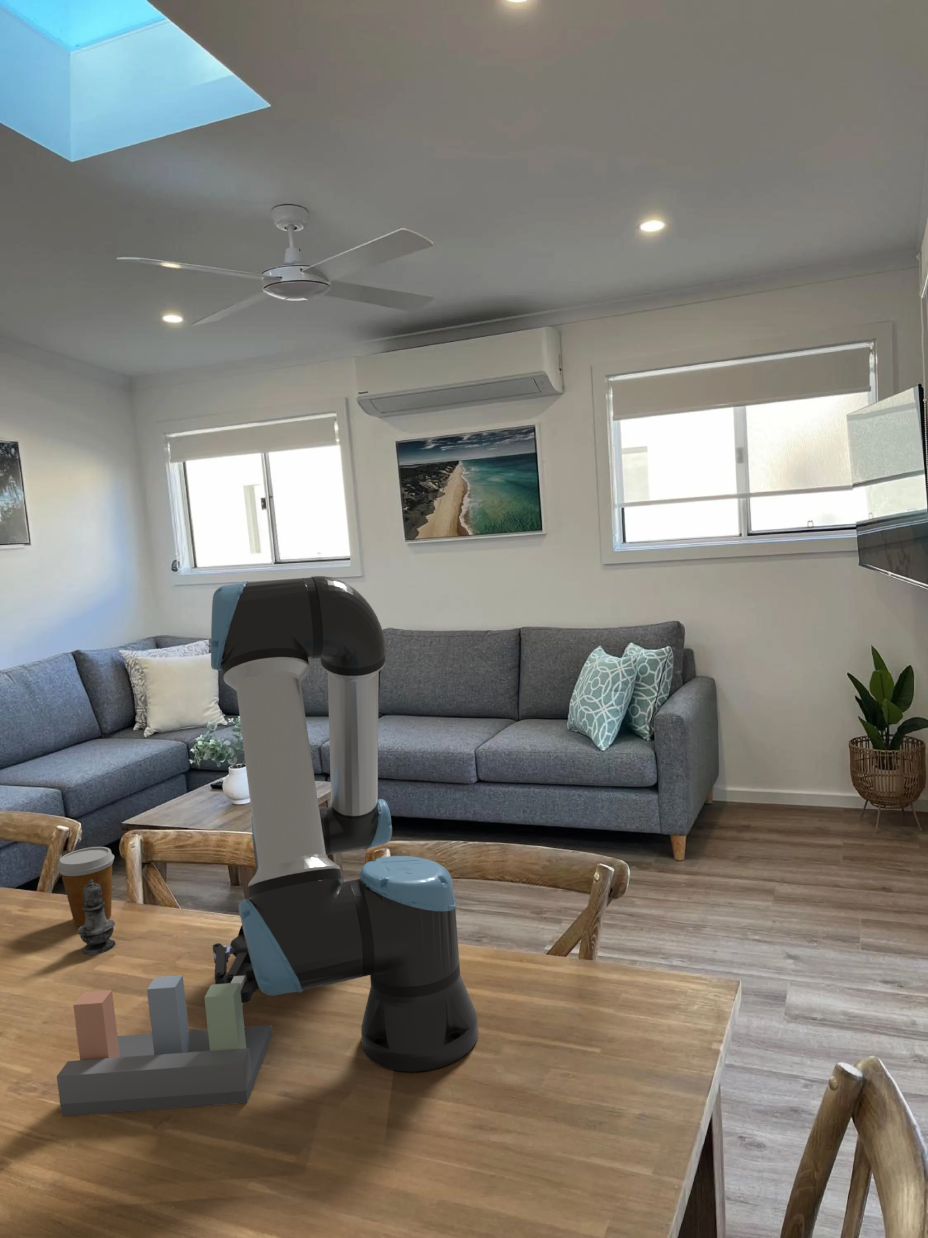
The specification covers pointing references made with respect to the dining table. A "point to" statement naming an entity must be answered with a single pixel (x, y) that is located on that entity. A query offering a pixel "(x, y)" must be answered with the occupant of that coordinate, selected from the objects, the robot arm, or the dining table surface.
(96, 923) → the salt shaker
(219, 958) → the robot arm
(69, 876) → the disposable coffee cup
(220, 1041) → the green rectangular block
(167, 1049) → the blue-grey upright block
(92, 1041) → the salmon pink block
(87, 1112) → the dark grey block holder
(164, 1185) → the dining table surface
